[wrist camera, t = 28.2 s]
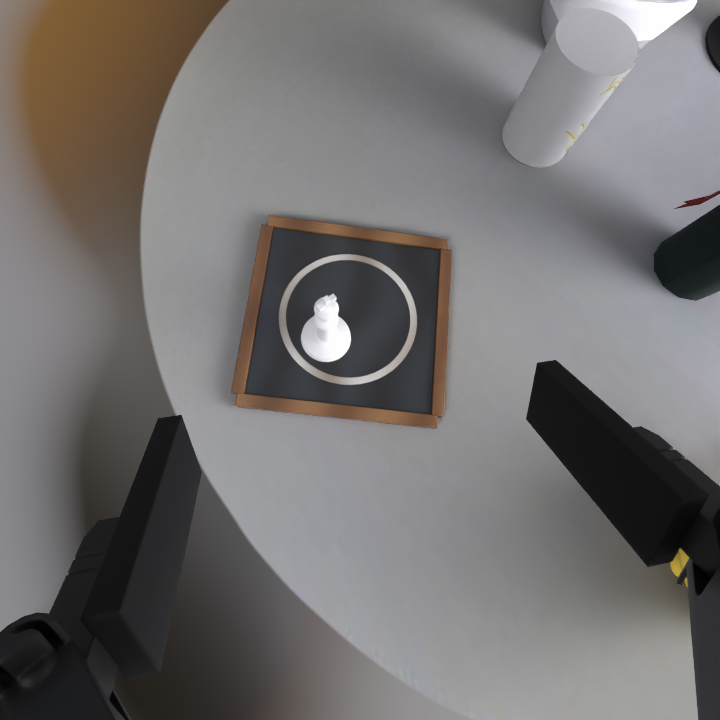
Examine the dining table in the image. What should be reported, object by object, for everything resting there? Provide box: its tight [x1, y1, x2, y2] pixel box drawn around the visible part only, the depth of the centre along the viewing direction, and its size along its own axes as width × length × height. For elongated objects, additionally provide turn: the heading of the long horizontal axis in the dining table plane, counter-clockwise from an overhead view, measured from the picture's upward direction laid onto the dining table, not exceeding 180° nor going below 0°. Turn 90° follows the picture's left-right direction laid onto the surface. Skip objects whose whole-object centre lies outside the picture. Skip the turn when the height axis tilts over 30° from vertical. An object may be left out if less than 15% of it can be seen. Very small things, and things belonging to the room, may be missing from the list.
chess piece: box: [301, 294, 351, 362], centre depth 36 cm, size 5×5×10 cm
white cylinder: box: [502, 8, 639, 168], centre depth 44 cm, size 8×8×12 cm
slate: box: [231, 215, 452, 429], centre depth 42 cm, size 20×20×1 cm
